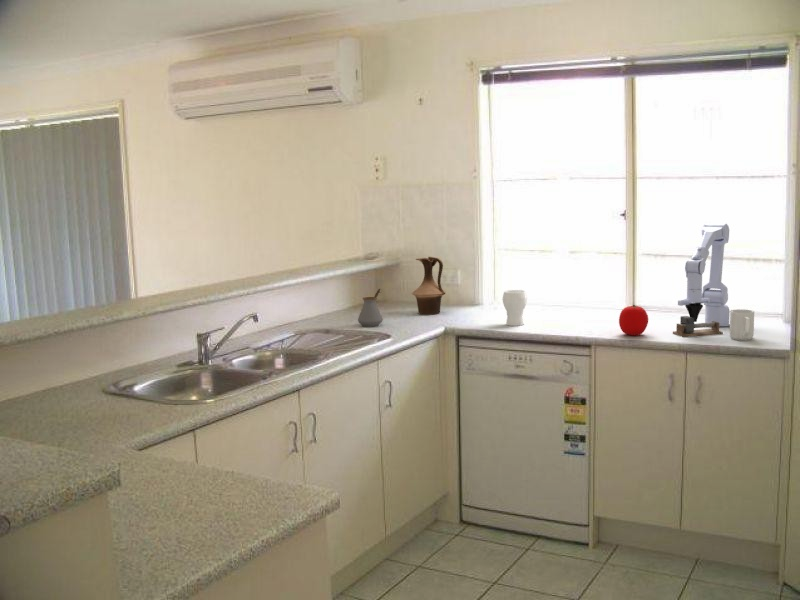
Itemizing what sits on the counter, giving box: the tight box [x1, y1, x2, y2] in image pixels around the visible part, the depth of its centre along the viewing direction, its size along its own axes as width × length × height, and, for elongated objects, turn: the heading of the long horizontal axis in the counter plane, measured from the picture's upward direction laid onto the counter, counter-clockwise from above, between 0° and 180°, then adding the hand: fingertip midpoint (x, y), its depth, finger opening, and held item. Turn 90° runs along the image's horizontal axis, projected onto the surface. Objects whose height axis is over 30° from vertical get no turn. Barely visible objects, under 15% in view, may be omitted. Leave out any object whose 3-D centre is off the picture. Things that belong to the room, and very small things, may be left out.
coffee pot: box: [357, 288, 384, 328], centre depth 394 cm, size 21×12×15 cm, turn 163°
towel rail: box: [672, 321, 724, 338], centre depth 351 cm, size 18×8×4 cm, turn 102°
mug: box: [729, 308, 755, 341], centre depth 337 cm, size 12×9×11 cm
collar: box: [679, 315, 695, 333], centre depth 349 cm, size 3×5×6 cm, turn 12°
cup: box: [502, 289, 528, 327], centre depth 382 cm, size 11×11×15 cm
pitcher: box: [411, 256, 447, 316], centre depth 417 cm, size 18×17×28 cm
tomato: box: [618, 304, 649, 336], centre depth 352 cm, size 12×12×13 cm
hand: (693, 321), depth 350 cm, fingers closed
